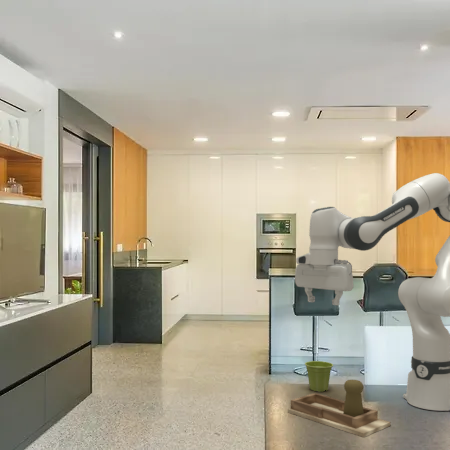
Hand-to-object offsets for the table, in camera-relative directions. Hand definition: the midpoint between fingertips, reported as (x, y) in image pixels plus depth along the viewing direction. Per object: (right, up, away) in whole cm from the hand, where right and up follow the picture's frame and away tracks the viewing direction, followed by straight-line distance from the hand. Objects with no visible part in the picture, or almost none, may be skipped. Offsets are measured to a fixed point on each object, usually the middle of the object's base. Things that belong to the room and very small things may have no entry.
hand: (323, 303), depth 169 cm
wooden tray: (+2, -31, -14) cm, 34 cm away
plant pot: (+1, -32, +16) cm, 35 cm away
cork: (+5, -30, -18) cm, 35 cm away
